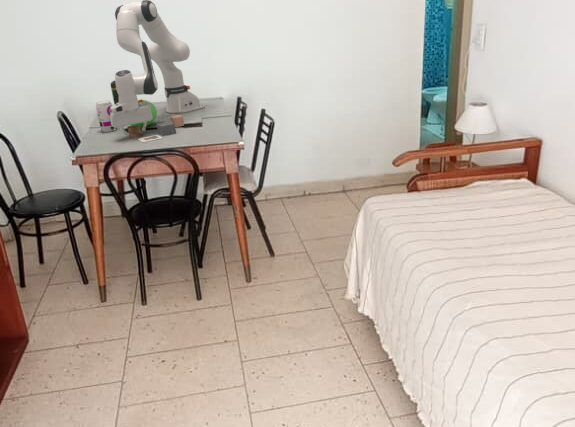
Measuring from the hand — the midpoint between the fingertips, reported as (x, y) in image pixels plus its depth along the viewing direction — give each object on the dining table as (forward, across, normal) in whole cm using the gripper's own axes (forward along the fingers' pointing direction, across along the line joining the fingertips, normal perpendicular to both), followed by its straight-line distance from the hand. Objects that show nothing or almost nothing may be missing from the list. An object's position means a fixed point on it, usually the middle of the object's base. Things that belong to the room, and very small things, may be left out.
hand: (134, 132), depth 260 cm
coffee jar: (+2, -12, -67) cm, 68 cm away
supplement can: (+2, +7, -24) cm, 25 cm away
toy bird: (+2, -9, -18) cm, 20 cm away
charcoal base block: (+2, -14, +7) cm, 16 cm away
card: (+2, -4, +11) cm, 12 cm away
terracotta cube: (+2, -24, -4) cm, 25 cm away
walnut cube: (+2, 0, 0) cm, 2 cm away
